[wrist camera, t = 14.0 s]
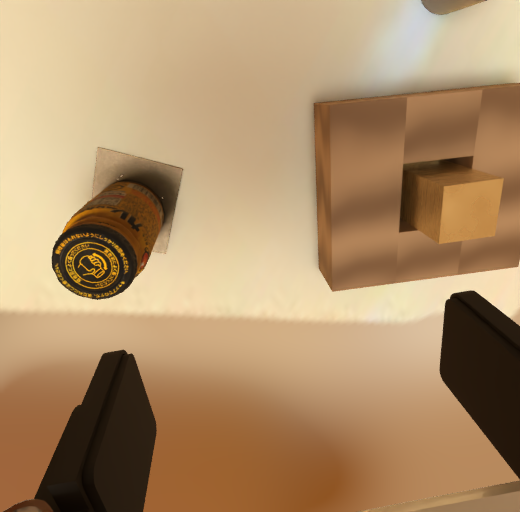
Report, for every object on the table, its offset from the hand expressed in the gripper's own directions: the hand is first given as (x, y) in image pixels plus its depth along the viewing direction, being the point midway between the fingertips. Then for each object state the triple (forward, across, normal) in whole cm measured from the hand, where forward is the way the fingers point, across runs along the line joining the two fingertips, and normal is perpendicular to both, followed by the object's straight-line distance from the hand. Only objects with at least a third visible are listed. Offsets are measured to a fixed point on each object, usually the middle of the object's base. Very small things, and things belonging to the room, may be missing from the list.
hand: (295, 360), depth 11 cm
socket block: (+26, -16, +3) cm, 31 cm away
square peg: (+26, -16, +3) cm, 31 cm away
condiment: (+26, +10, +1) cm, 28 cm away
